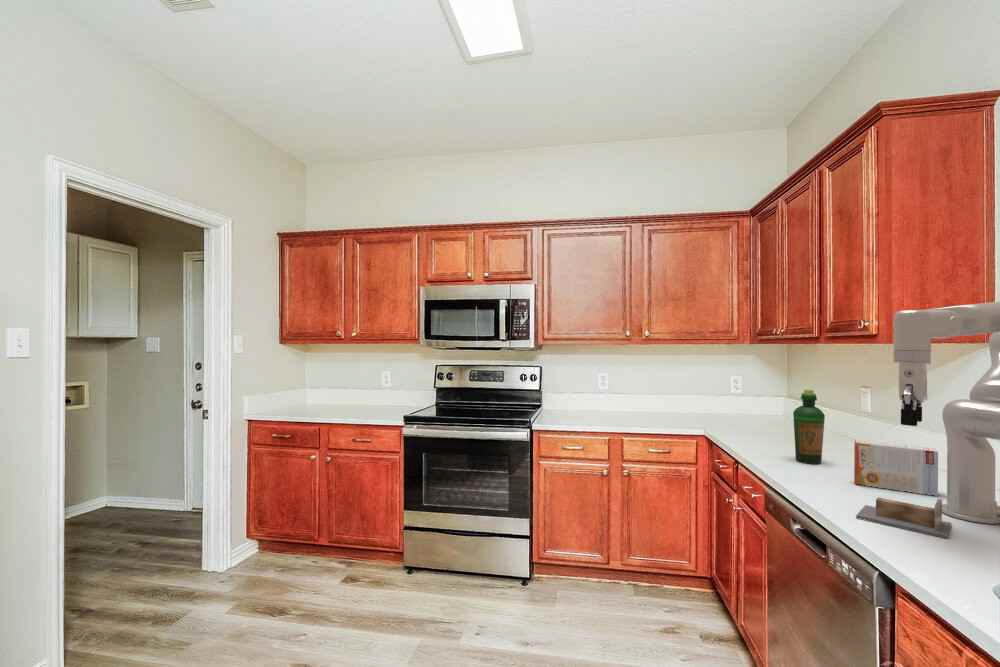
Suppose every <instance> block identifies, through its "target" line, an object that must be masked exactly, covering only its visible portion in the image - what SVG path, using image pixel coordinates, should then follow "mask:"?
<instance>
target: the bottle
mask: <svg viewBox="0 0 1000 667" xmlns="http://www.w3.org/2000/svg"><path fill="white" fill-rule="evenodd" d="M814 391H815V390H813V389H804V390H803V392H802V393H801V397H800V400H802V401H801V402H802V405H800V406H798V407H796V408H795V409H794V410H793V415H792V416H793V430H794V431H793V432H794V433H793V434H794V451H795V452H794V453H795V460H796V461H797V462H799V463H803V464H806V465H807V464H809V465H818V464H821V463H822V458H823V445H824V444H823V443H824V431H825V430H824V429H825V428H824V427H825V414H824V412H823V411H822V409H820V408H819V407H817V406H816V401H817V400H818V398H817V394H816V393H814Z"/></svg>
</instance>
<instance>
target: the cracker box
mask: <svg viewBox="0 0 1000 667" xmlns="http://www.w3.org/2000/svg"><path fill="white" fill-rule="evenodd" d="M853 452H854V454H853V455H854V462H853V463H854V466H853V467H854V469H853V470H854V471H853V472H854V474H853V479H854V480H853V481H854V484H855V485H856V484H861V485H860V486H863V485H866V486H865V487H870V486H872V487H871V488H876V487H878V489H883V488H886V489H885V490H890V489H894V490H893V491H897V490H900V491H899V492H904V491H907V492H906V493H911V492H913V493H912V494H918V493H919V494H918V495H925V494H927V496H931V495H934V496H933V497H938V496H939V452H938V451H937V449H936V448H931V447H923V446H912V445H904V444H895V443H885V442H875V441H869V440H868V441H866V440H857V439H856V440H854V450H853Z"/></svg>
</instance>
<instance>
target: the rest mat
mask: <svg viewBox="0 0 1000 667" xmlns="http://www.w3.org/2000/svg"><path fill="white" fill-rule="evenodd" d="M855 517H856V519H857V518H861V519H860V520H862V519H865V520H864V521H866V520H869V521H868V522H870V521H873V522H872V523H875V522H876V523H875V524H879V523H880V525H884V526H889V527H892V526H893V528H897V529H903V530H906V531H911V532H915V533H919V534H924V535H929V536H933V537H937V538H941V539H946V540H948V537H949V536H950V535H949V534H950V531H951V528H952V522H949V521H943V520H942V524H941V527H940V529H939V531H935V530H934V527H930V526H925V525H921V524H916V523H912V522H907V521H902V520H898V519H893V518H889V517H884V516H879V515H876V506H873V505H872V506H871V505H867V504H865V505H864V506H863V507H862V508H861V509H860V511H859V512H858V513H857V514H856V515H855Z"/></svg>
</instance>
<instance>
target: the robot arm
mask: <svg viewBox="0 0 1000 667" xmlns="http://www.w3.org/2000/svg"><path fill="white" fill-rule="evenodd" d="M984 334H991V335H990V336H989V339H988V348H989V355H990V361H991V362H990V363H991V365H990V367H989V368H988V369H987V371H986V372H985V373H984V374H983V375H982V376H981V377H980V378H979V380H977V381H976V382H975V384H974V385H973V386H972V388H971V389H970V391H969V399H965V398H964V399H961V398H960V399H955V400H951V401H949V402H947V403H946V404H945V405H944V407H943V409H942V421H943V426H944V430H945V435H946V448H947V449H946V450H947V451H946V452H947V454H946V457H947V458H946V503H942V514H944V515H947V516H950V517H952V518H956V519H960V520H964V521H968V522H972V523H973V522H974V523H981V524H991V525H996V524H1000V505H998V501H996V453H995V450H994V448H993V446H992V445H991V443H990V442H989V441H988V439H993V440H999V441H1000V301H990V302H983V303H972V304H962V305H961V304H960V305H953V306H945V307H939V308H928V309H919V310H918V309H917V310H916V309H915V310H914V309H908V310H907V309H906V310H898V311H896V312H895V313H894V315H893V362H892V363H895V364H898V397H899V400H900V401H901V405H900V406H901V408H900V425H902V426H909V427H911V426H912V427H917V426H918V423H921V422H923V406H922V403H924V402H926V401H927V400H928V372H927V365H929V364H930V365H932V340H933V339H935V340H937V339H938V340H939V339H940V340H941V339H943V340H944V339H950V338H955V337H961V336H962V337H965V336H977V335H978V336H979V335H984Z"/></svg>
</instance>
